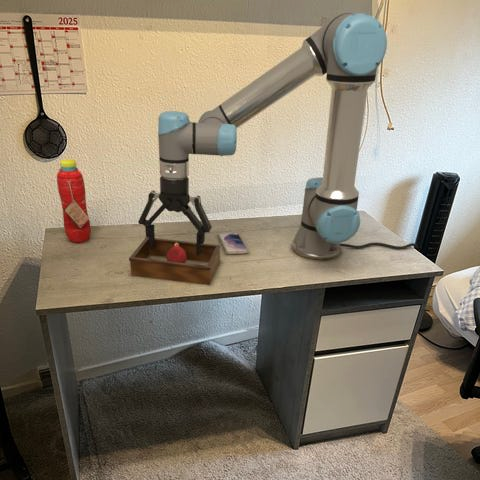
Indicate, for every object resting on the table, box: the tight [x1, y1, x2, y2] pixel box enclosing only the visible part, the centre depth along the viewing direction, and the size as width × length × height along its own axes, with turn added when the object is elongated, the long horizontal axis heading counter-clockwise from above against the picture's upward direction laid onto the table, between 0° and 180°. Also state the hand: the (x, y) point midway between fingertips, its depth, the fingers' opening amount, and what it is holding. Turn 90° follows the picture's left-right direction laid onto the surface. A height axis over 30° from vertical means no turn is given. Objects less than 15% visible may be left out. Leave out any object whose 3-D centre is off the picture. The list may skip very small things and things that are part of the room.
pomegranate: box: [166, 243, 188, 263], centre depth 136 cm, size 6×6×8 cm
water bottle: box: [56, 158, 92, 244], centre depth 143 cm, size 12×8×25 cm, turn 14°
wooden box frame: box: [128, 236, 222, 286], centre depth 136 cm, size 23×15×6 cm, turn 81°
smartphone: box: [217, 232, 249, 255], centre depth 153 cm, size 7×1×15 cm
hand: (175, 250), depth 135 cm, fingers open, 13 cm apart
